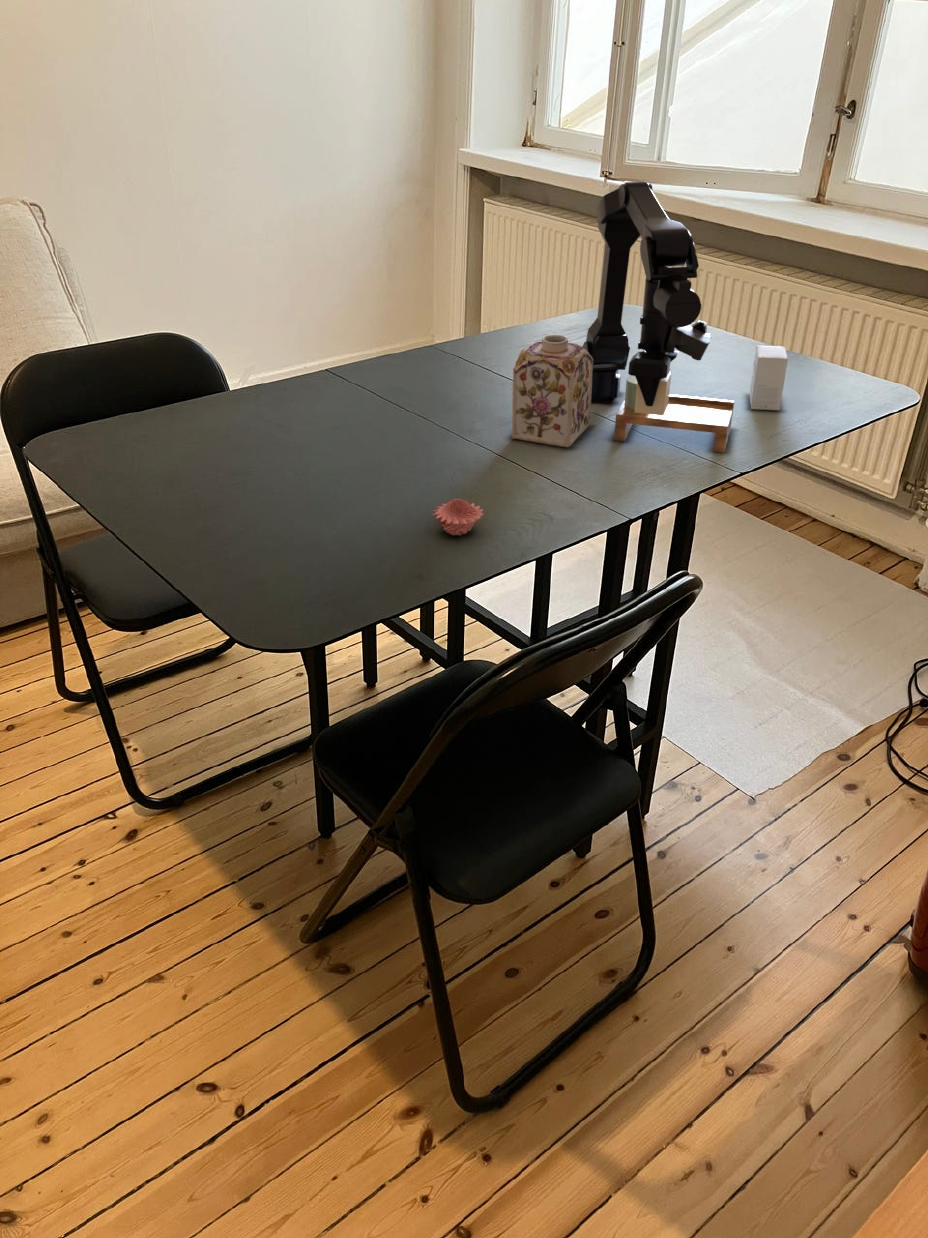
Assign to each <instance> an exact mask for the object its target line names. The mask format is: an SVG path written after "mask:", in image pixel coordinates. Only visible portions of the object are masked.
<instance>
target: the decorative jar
mask: <svg viewBox="0 0 928 1238" xmlns="http://www.w3.org/2000/svg"><path fill="white" fill-rule="evenodd" d="M582 346H583V345H580V344H578V343H576V342H569V338H568V337H567V336H565V335H563V334H549V335H545V336H544V337H542V339H541V341H537V342H531V343H529V344H527V345H526V346H525V347H523V348H522V349H521V351H520V353H519V355H518V358H517V359H516V361H515V365H514V366H513V368H512V405H511V406H512V408H511V412H512V413H511V418H512V419H511V420H512V421H511V422H512V423H511V425H512V427H511V432H512V439H514V440H520V441H525V442H531V443H538V444H543V445H549V446H555V447H560V448H561V447H562V448H570V447H571V446H572V445H573V444H574V443H575V442H576V440H578V438H579V437H580V436H581V435H582V434H583V433H584V432H585V431H586V430H587V429H588V428H589V426H590V422H591V409H592V402H591V394H592V370H593V361H594V360H593V359H592V357H591V355H590V354H589V353H588V352H587V350H585V349H584V348H583V347H582Z"/></svg>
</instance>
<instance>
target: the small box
mask: <svg viewBox="0 0 928 1238" xmlns="http://www.w3.org/2000/svg"><path fill="white" fill-rule="evenodd" d="M754 353H755V354H754V361H753V368H752V375H751V381H750V388H749V402H750V409H751V410H763V411H780V410H781V404H782V398H783V391H784V385H785V379H786V373H787V366H788V361H789V359H788V354H787V350H786V346H782V345H781V346H779V345H762V344H761V345H759V344H758V345H756V346H755V352H754Z"/></svg>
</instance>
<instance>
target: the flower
mask: <svg viewBox="0 0 928 1238" xmlns="http://www.w3.org/2000/svg"><path fill="white" fill-rule="evenodd" d="M434 507H435V508H436V509H433V510H432V512H435V513H432V516H434V517H435V518H434V519H435V520H438V522H439V525H441V527H443V531H445V533H448V534H449V535H452V536H462V535H466V534H467V533H468V532H470V531H471V530H472V528H473V527H474V526H475V523H476V522H477V521H479V520H480V519H482V516H483V515H485V514H484V512H483V511H484V509H482V508H481V505H477V506H475V502H472V503H471V504H470V503H469V501H467V500H466V499H461V498H455V499H451V500H450V501H448V502H447V503H440V505H439V506H436V505H435V506H434ZM480 508H481V509H480Z"/></svg>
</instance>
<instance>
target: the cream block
mask: <svg viewBox="0 0 928 1238" xmlns="http://www.w3.org/2000/svg"><path fill="white" fill-rule="evenodd" d="M671 379H672V371H670V372H669V374H668V376H667V378H662V379H661V380H660V383H659V386H658V390H657V393H656V397H655V400H654V403H653V406H646V404H645V401H644V398H643V396H642V393H641V390H640V387H639V385H638V382H637V389H636V401H635V413H644V414H654V415H664V414H665V411H666V409H667V406H668V401H669V394H670V390H671V381H672V380H671Z"/></svg>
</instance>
